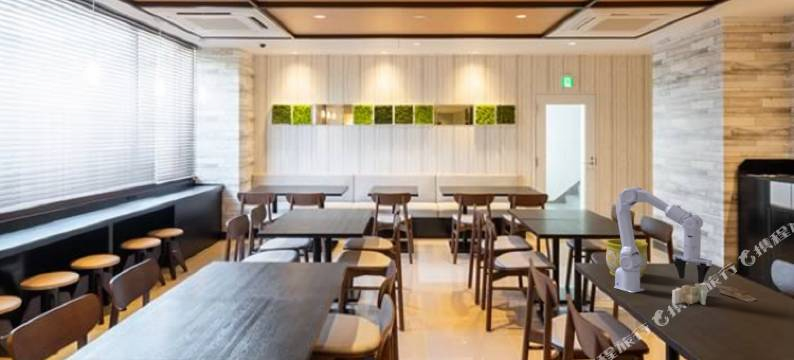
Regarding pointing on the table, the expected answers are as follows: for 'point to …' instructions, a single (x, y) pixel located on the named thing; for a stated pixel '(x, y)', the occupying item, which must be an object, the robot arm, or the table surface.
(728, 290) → the wooden fragment
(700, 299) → the door
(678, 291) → the wall frame
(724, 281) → the table surface
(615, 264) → the flowerpot
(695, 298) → the block
